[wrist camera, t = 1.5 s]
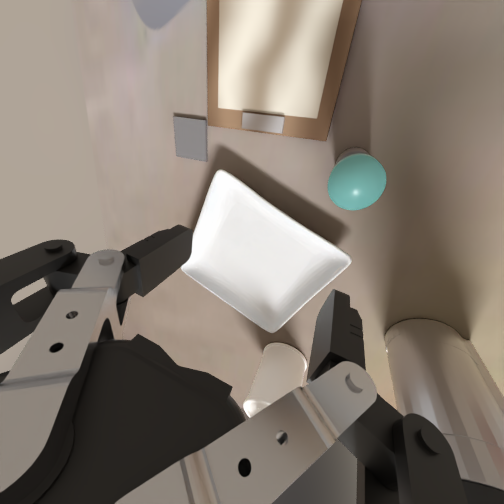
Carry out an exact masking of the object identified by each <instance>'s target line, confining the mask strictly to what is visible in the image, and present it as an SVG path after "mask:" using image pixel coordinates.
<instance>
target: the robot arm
mask: <svg viewBox="0 0 504 504" xmlns="http://www.w3.org/2000/svg"><path fill="white" fill-rule="evenodd" d="M192 240H193V231H192V230H191V229H189V228H187V227H184V226H182V225H177V226H175V227H173V228H171V229H166V230H162V231H158V232H156V233H154V234H152V235H151V236H149V237H147V238H145V239H144V240H141V241H139V242H137V243H135V244H133V245H131V246H130V247H128V248H126V249H124V250H122V251H117V250H101V251H97V252H95V253H93V254H91V255H90V254H85V253H79V252H76V249H75V246H74V244H73V243H72V242H70V241H67V240H51V241H46V242H43V243H40V244H38V245H35V246H33V247H30V248H28V249H25V250H23V251H20V252H18V253H15V254H13V255H10V256H8V257H5V258H3V259H0V354H2V353H3V352H5V351H6V350H7V349H9V348H10V347H12V346H13V345H15V344H16V343H18V342H19V341H20V340H22V339H23V338H25V337H26V336H28V335H29V334H31V333H32V332H33V334H32V335H31V337H30V339H29V340H28V342H27V344H26V345H25V347H24V349H23V350H22V352H21V354H20V355H19V357H18V359H17V360H16V362H15V364H14V365H13V367H12V369H11V370H10V371H7V372H4V373H1V374H0V504H271V503H272V502H273V501H275V500H276V499H277V498H278V497H279V496H280V495H281V494H282V493H283V492H284V491H285V490H286V489H287V488H288V487H289V486H290V485H291V484H292V483H293V482H294V481H295V480H296V479H297V478H298V477H299V476H300V475H301V474H302V473H304V472H305V470H307V469H308V468H309V467H310V466H311V465H312V464H313V463H314V462H315V461H316V460H317V459H318V458H319V457H320V456H321V455H322V454H323V453H324V452H325V451H326V450H327V449H328V448H329V447H330V446H331V445H332V444H333V443H334V442H335V441H336V439H338V440H339V441H340V442H341V443H342V444H343V445H344V446H345V447H346V448H347V449H348V450H349V451H350V452H351V453H352V454H353V455H354V456H355V457H356V458H357V504H504V397H503V395H502V393H501V392H500V390H499V388H498V387H497V385H496V383H495V382H494V380H493V378H492V376H491V375H490V373H489V371H488V370H487V368H486V366H485V365H484V363H483V361H482V359H481V358H480V356H479V354H478V353H477V351H476V349H475V348H474V346H473V344H472V342H471V341H469V340H466V339H464V338H462V337H461V336H460V335H459V334H458V332H457V331H456V330H454V329H453V328H452V327H450V326H448V325H446V324H444V323H441V322H438V321H434V320H429V319H409V320H405V321H401V322H399V323H397V324H395V325H393V326H392V327H390V329H389V330H388V331H387V333H386V335H385V344H386V352H387V355H388V361H389V367H390V373H391V378H392V384H393V389H394V395H395V400H396V406H397V410H396V409H395V408H393V407H392V406H391V405H390V404H389V403H387V402H386V401H385V400H384V399H383V398H381V397H380V395H379V394H378V393H377V390H376V386H375V384H374V382H373V380H372V378H371V377H370V375H369V374H368V373H367V372H366V368H365V355H364V341H363V331H362V330H363V328H362V319H361V317H360V315H359V313H358V311H357V310H355V309H353V308H351V307H350V296H349V295H347V294H345V293H342V292H340V291H337V290H335V289H333V290H332V291H331V293H330V295H329V296H328V298H327V300H326V301H325V303H324V305H323V306H322V308H321V310H320V312H319V314H318V317H317V321H316V326H315V332H314V338H313V344H312V350H311V357H310V363H309V369H308V375H307V381H306V382H307V383H309V384H308V385H306V386H305V387H303V388H302V387H301V386H300V387H297V388H295V389H293V390H292V391H290V392H289V393H287V394H286V395H284V396H283V397H281V398H280V399H278V400H277V401H275V402H273V403H272V404H270V405H269V406H267V407H266V408H264V409H263V410H261V411H260V412H258V413H257V414H255V415H254V416H252V417H250V418H249V419H247V420H246V419H245V417H244V414H243V412H242V411H241V409H240V407H239V406H238V404H237V403H236V402H235V400H234V399H233V398H232V397H231V396H230V393H231V390H232V386H230V385H228V384H227V383H225V382H223V381H221V380H219V379H218V378H216V377H214V376H212V375H211V374H209V373H206V372H202V371H198V370H193V369H189V368H185V367H181V366H178V365H177V364H176V363H175V362H174V361H173V360H172V359H171V358H170V357H169V356H168V355H167V353H166V352H165V351H164V350H163V349H162V348H161V347H160V346H159V345H157V344H155V343H154V342H152V341H150V340H148V339H146V338H145V337H143V336H141V335H139V334H137V335H136V336H135V337H134V338H133V339H132V340H123V333H124V327H125V323H126V319H127V315H128V310H129V306H130V302H131V295H133V294H134V293H136V294H138V295H140V296H142V297H144V296H145V295H147V294H148V293H149V292H150V291H151V290H153V289H154V288H155V287H156V286H158V285H159V284H160V283H161V282H163V281H164V280H165V279H166V278H167V277H169V276H170V275H171V274H172V273H174V272H175V271H176V270H177V269H179V268H180V267H181V266H182V265H184V264H185V263H186V262H187V261H188V260H189V258H190V256H191V253H192ZM41 278H44V280H45V282H46V284H47V287H45V288H43V289H41V290H39V291H38V292H36V293H34V294H32V295H30V296H29V297H27V298H25V299H23V300H21V301H20V302H18V303H16V304H14V305H12V303H11V298H12V296H13V295H14V293H16V292H17V291H18V290H20V289H22V288H24V287H26V286H28V285H29V284H31V283H33V282H35V281H37V280H39V279H41Z"/></svg>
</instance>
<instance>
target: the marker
mask: <svg viewBox="0 0 504 504" xmlns="http://www.w3.org/2000/svg"><path fill="white" fill-rule="evenodd" d="M385 186H386V173H385V170H384V168H383V166H382V165H381V164H380V163H379V162H378V161H377V160H376V159H375V158H374V157H372V156H370V155H369V154H368V153H367V152H366V151H365V150H364V149H362V148H358V147H353V148H349V149H347V150H345V151H344V152H342V153H341V154H340V156H339V157H338V159H337V161H336V164H335V167H334V168H333V170H332V172H331V175H330V177H329V181H328V193H329V196H330V198H331V200H332V201H333V202H334V203H335V204H336V205H337V206H339V207H340V208H343V209H346V210H359V209H363V208H366V207H368V206H370V205H372V204H373V203H374V202H375V201H377V200H378V198H379V197H380V196H381V195H382V193H383V191H384V189H385Z"/></svg>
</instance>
